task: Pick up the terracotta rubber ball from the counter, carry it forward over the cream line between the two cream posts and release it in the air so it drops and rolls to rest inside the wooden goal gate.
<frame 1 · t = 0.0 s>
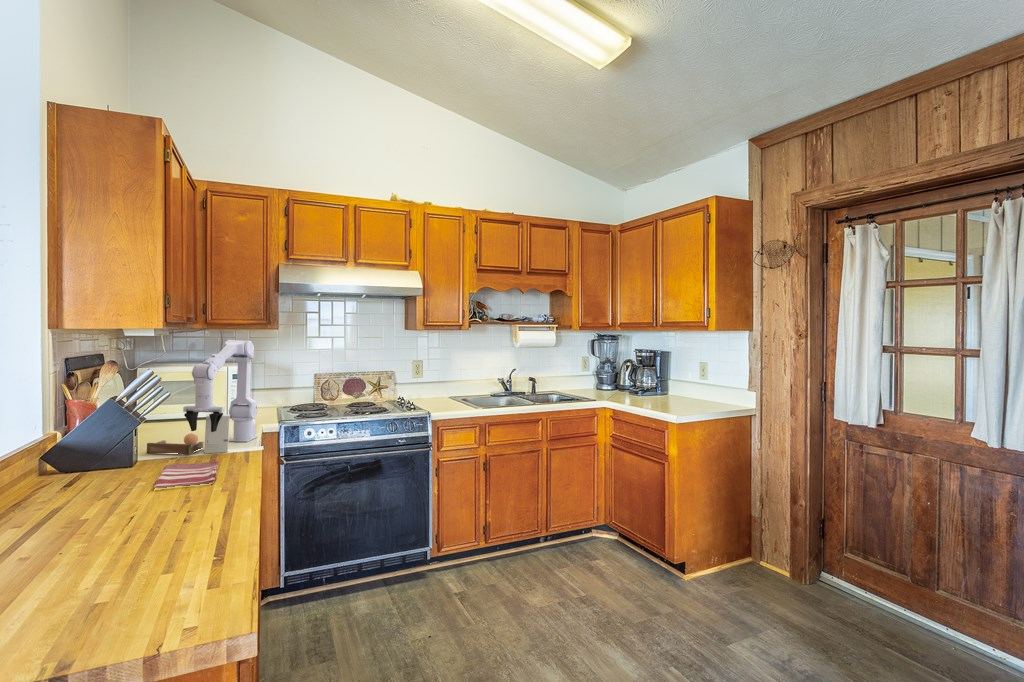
hand: (203, 431, 191), 10 cm above the worktop, fingers open, 7 cm apart
dish towel: (188, 479, 169), on the worktop
skincare box: (217, 451, 200), on the worktop
wooden goal gate: (174, 451, 198), on the worktop
ball: (191, 439, 207), point 2 cm above the worktop
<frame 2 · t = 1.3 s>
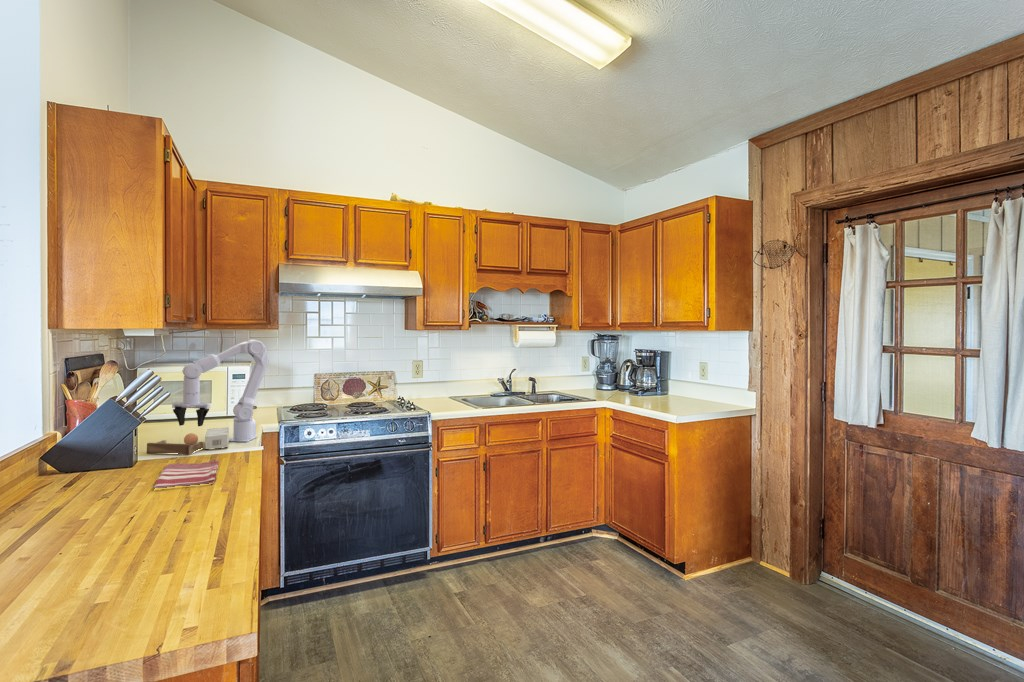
hand: (191, 425, 207), 8 cm above the worktop, fingers open, 7 cm apart
skincare box: (217, 442, 203), point 3 cm above the worktop
everything else where it was.
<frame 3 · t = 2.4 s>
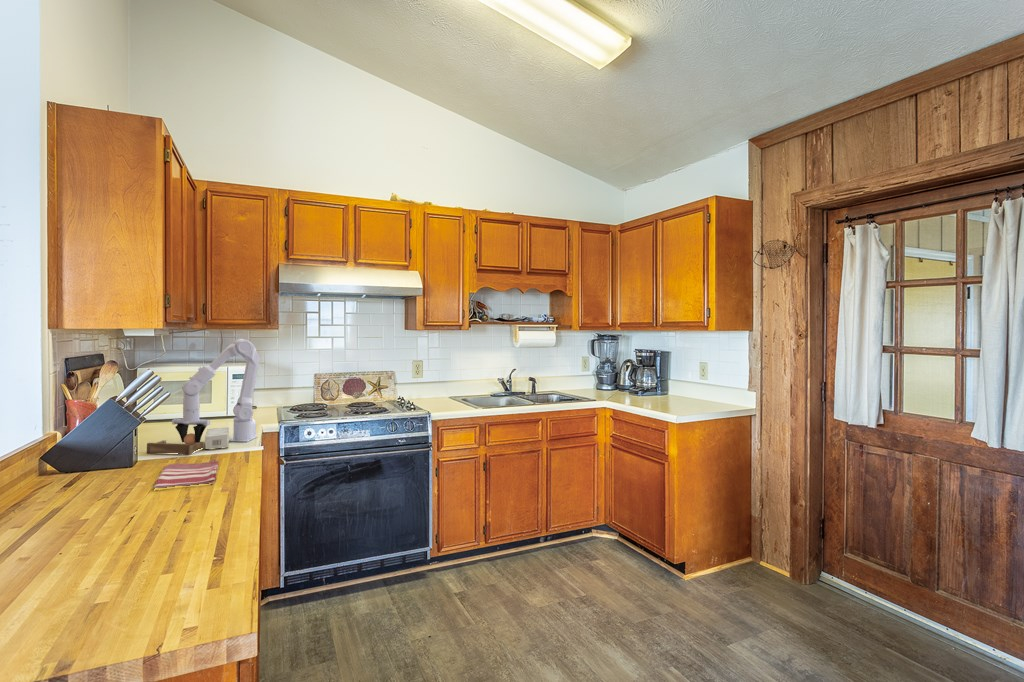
hand: (191, 442, 208), 1 cm above the worktop, fingers closed on ball, 5 cm apart
ball: (191, 439, 207), point 2 cm above the worktop, touching gripper
everything else where it was.
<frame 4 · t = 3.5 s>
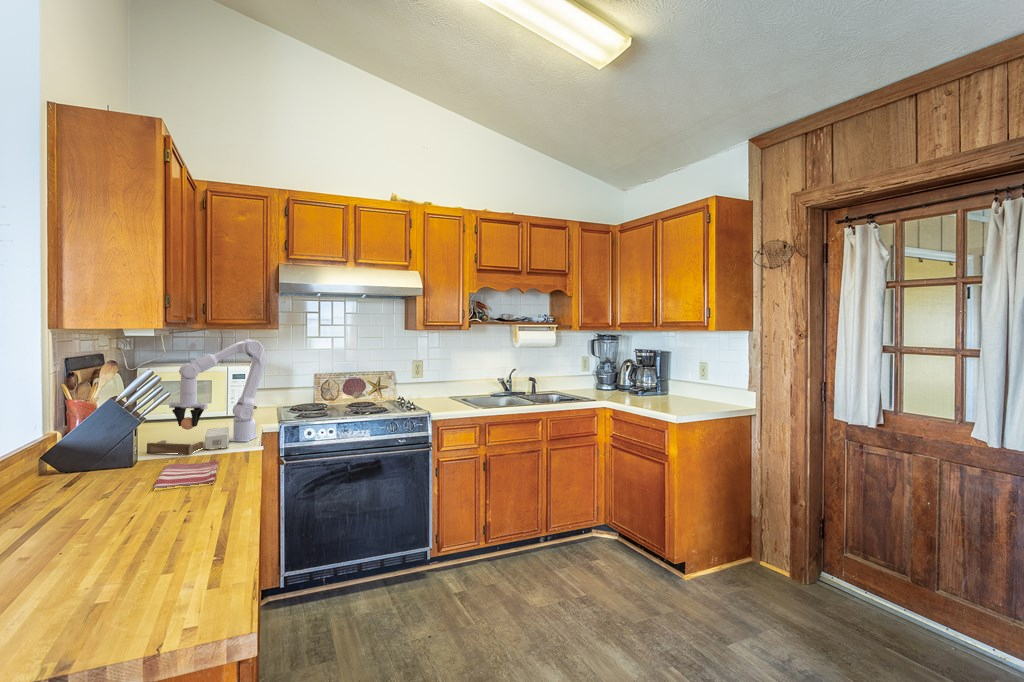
hand: (188, 425, 205), 9 cm above the worktop, fingers closed on ball, 5 cm apart
ball: (188, 423, 205), point 10 cm above the worktop, touching gripper
everything else where it was.
when the fingers open (3 cm above the worktop, at t = 4.8 s): ball drops 2 cm, point 2 cm above the worktop.
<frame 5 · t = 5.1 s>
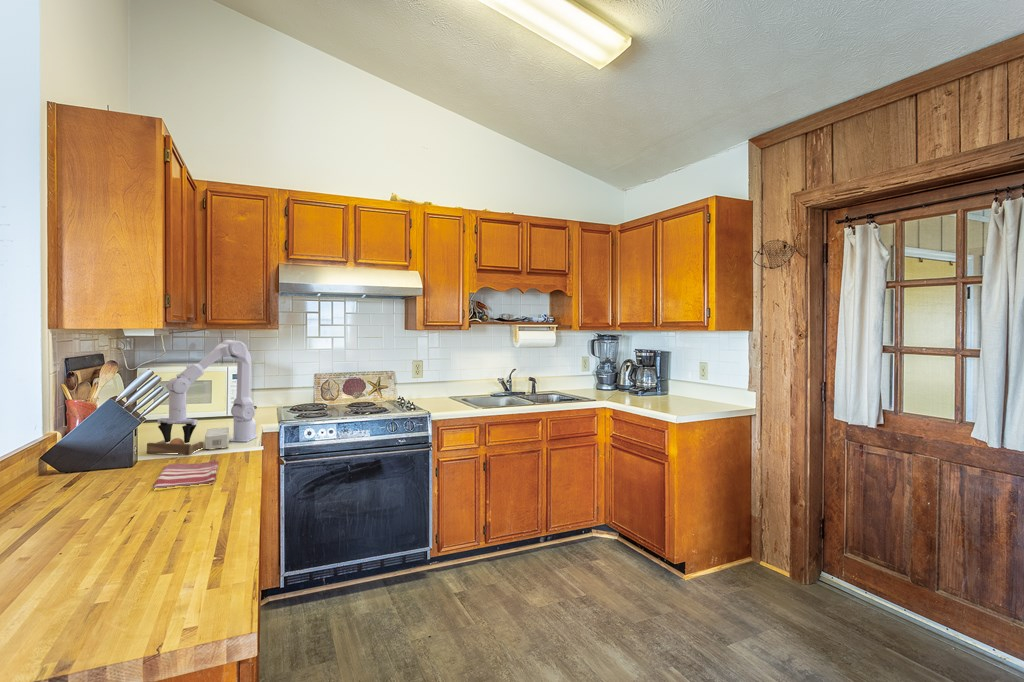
hand: (177, 442, 199), 3 cm above the worktop, fingers open, 7 cm apart
ball: (176, 444, 199), point 2 cm above the worktop
everything else where it was.
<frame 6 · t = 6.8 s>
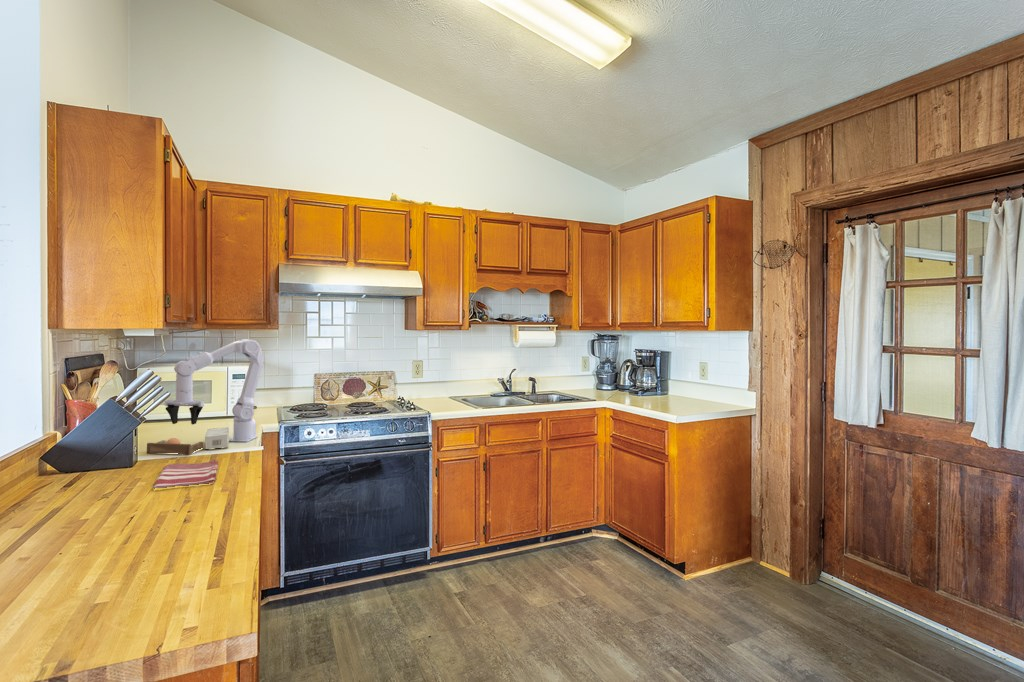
hand: (184, 423, 204), 10 cm above the worktop, fingers open, 7 cm apart
ball: (173, 444, 199), point 2 cm above the worktop, tilted 40°
everything else where it was.
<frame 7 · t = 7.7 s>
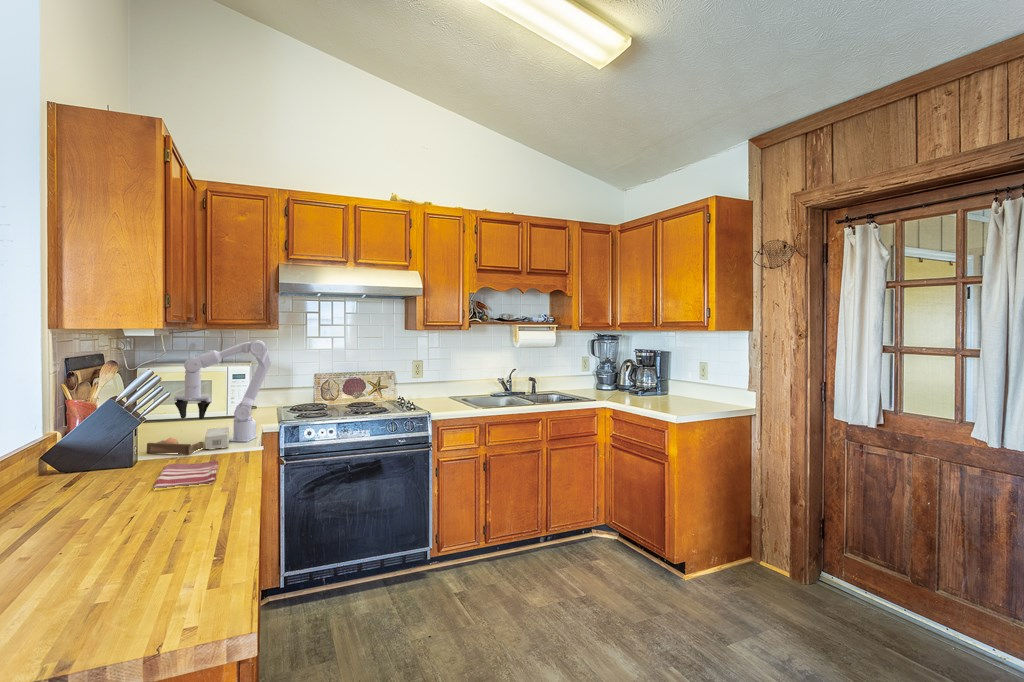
hand: (192, 418, 211), 10 cm above the worktop, fingers open, 7 cm apart
ball: (171, 444, 199), point 2 cm above the worktop, tilted 58°
everything else where it was.
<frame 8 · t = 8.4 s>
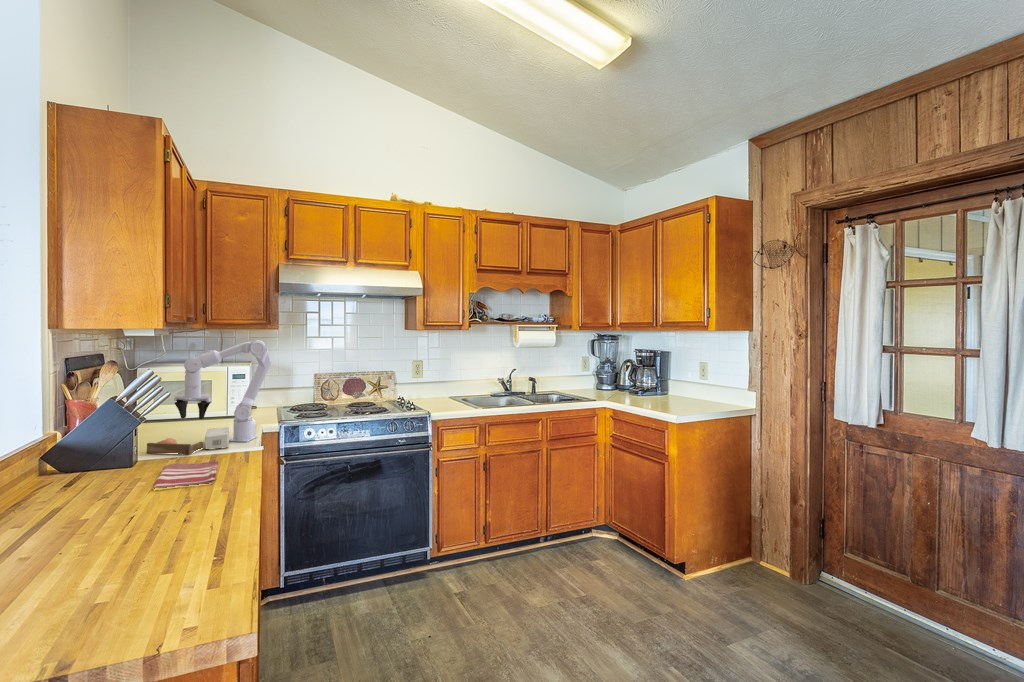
hand: (192, 418, 211), 10 cm above the worktop, fingers open, 7 cm apart
ball: (169, 444, 199), point 2 cm above the worktop, tilted 72°
everything else where it was.
at the end: ball inside the target area (3.4 cm from its centre), point 2.5 cm above the worktop; the gripper is holding nothing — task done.
